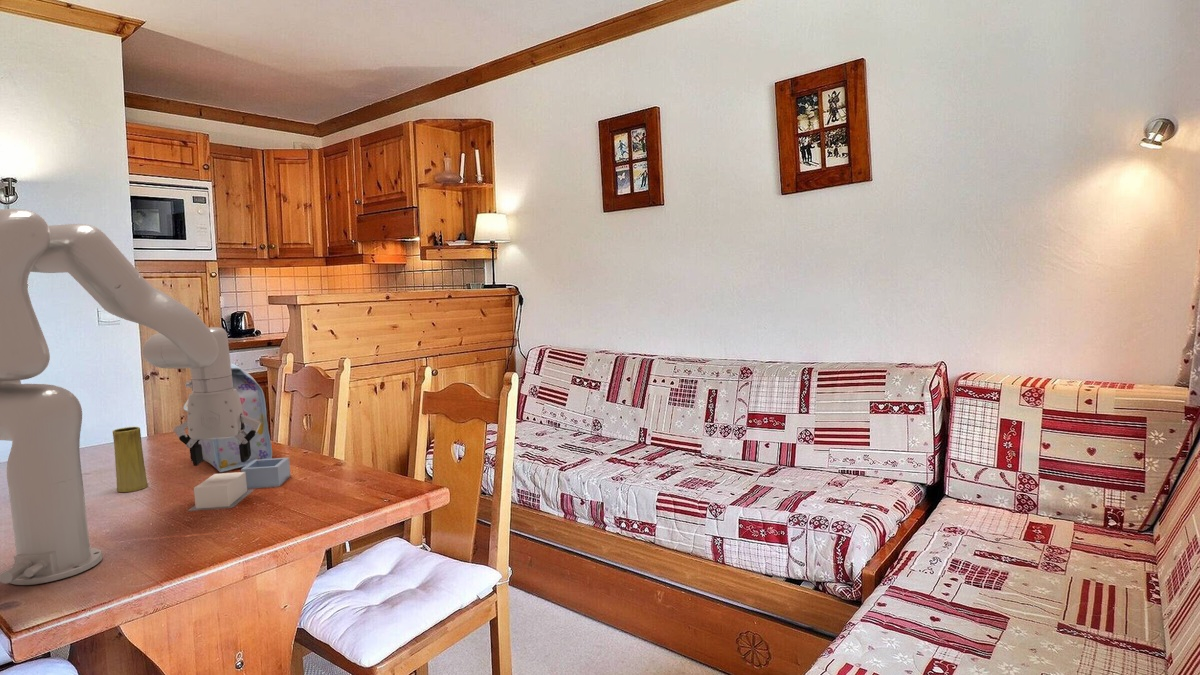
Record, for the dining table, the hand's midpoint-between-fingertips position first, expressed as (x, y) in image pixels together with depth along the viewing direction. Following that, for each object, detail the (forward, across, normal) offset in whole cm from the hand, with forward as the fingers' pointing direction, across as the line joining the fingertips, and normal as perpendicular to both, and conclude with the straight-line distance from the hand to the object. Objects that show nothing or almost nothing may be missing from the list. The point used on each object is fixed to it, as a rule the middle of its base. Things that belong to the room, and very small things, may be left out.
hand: (222, 462), depth 145 cm
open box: (+9, +5, +10) cm, 14 cm away
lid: (+8, 0, -1) cm, 8 cm away
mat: (+8, 0, -1) cm, 9 cm away
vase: (+9, -26, +14) cm, 31 cm away
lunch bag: (+10, -12, +34) cm, 37 cm away
